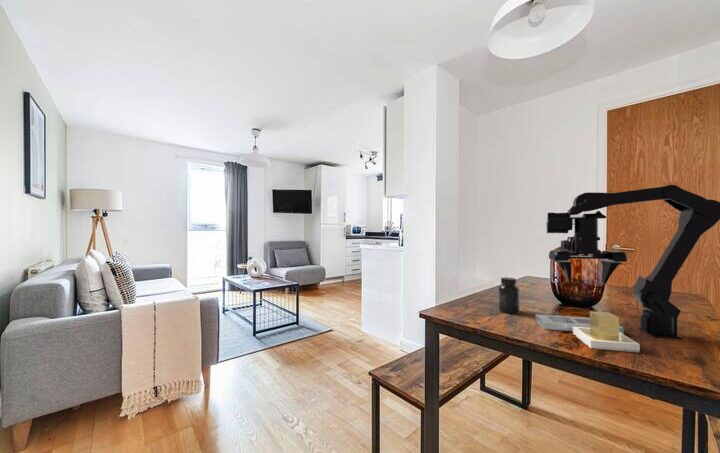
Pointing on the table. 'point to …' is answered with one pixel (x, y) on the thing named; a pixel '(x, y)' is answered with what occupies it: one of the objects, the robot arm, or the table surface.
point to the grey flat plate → (564, 322)
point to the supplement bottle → (508, 296)
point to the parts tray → (622, 345)
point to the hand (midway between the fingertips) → (586, 283)
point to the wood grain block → (604, 326)
